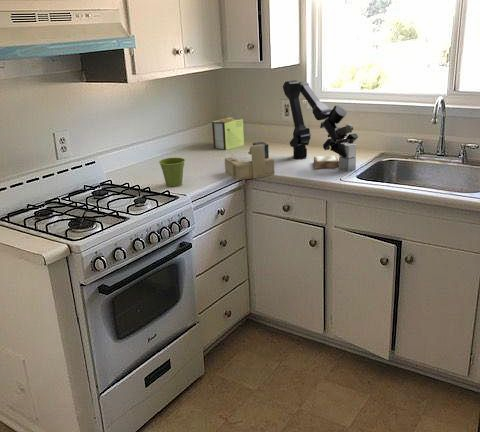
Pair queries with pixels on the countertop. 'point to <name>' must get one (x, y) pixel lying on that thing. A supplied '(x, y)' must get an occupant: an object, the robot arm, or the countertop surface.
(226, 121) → the protein box
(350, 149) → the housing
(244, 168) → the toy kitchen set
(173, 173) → the plant pot
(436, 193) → the countertop surface
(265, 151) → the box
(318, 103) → the robot arm
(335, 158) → the stand
